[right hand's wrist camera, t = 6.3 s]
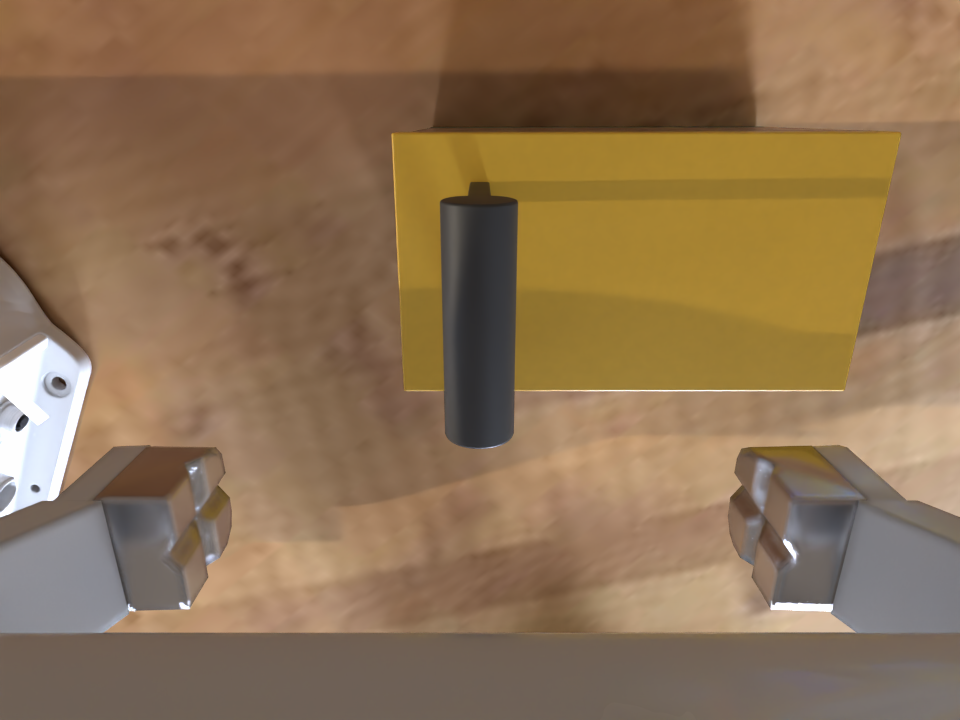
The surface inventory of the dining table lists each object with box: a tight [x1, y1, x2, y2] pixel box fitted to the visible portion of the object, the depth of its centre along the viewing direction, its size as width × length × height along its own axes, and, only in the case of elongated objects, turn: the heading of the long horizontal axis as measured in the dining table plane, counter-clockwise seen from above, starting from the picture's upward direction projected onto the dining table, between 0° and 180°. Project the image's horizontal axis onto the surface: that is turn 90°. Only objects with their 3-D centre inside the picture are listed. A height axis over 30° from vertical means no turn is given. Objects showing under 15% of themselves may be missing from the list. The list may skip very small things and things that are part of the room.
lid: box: [392, 131, 901, 449], centre depth 21 cm, size 18×10×9 cm, turn 90°
